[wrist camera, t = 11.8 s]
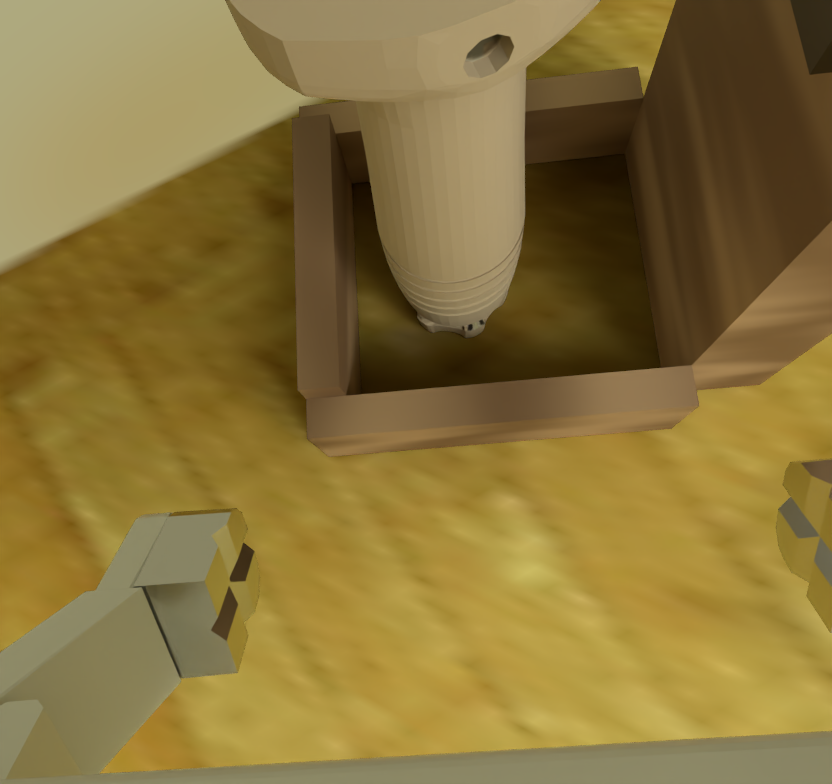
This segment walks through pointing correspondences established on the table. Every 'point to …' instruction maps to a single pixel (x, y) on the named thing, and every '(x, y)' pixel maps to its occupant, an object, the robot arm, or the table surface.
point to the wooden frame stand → (656, 222)
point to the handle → (427, 126)
